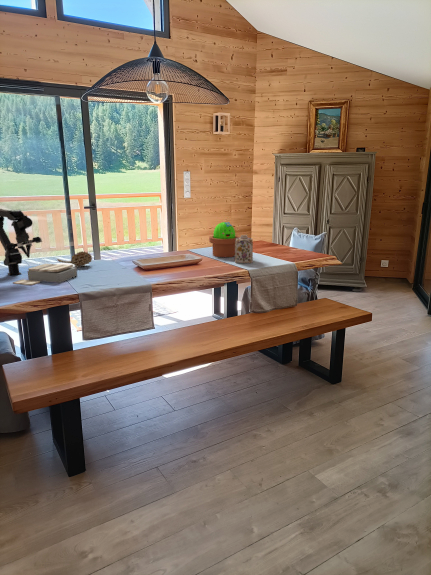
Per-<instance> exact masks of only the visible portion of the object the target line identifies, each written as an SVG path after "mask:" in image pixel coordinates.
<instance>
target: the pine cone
mask: <svg viewBox="0 0 431 575" xmlns="http://www.w3.org/2000/svg"><path fill="white" fill-rule="evenodd" d="M56 260H57V261H58V262H59V263H62V264H63V263H64V264H71V265H73V266H74V267H75V266H76V267H75V268H77V267H83V266H86V265H89V264H90V263H91V262H92V261H93V256H92V255H91V254H90V253H88V251H79V252H77V253H74V254H73V255H72V256H71V259H70V260H69V261H68V260H62V259H60V258H57V259H56Z"/></svg>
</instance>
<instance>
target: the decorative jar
mask: <svg viewBox="0 0 431 575" xmlns="http://www.w3.org/2000/svg"><path fill="white" fill-rule="evenodd" d="M239 237H240V238H236V240H235V256H234V262H235V264H253V262H254V261H253V258H254V257H253V256H254V255H253V254H254V247H253V246H254V242H253V238H252V237H249V236H248V235H247V234H243V235H241V234H240V236H239Z"/></svg>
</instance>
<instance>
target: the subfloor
mask: <svg viewBox="0 0 431 575" xmlns="http://www.w3.org/2000/svg"><path fill="white" fill-rule="evenodd" d="M51 265H54V263H43V264H39V265H36V266H35V265H34V266H32V267H30V268H28V269H27V278H28V279H27V280H34V281H41V282H48V283H62V282H66V281H68V280H71V279H73V278H75V276H76V277H78V270H77V267H75V266H73V267H71V268H68V269H65V270H62V271H59V272H39V269H42V268H45V267H48V266H51ZM72 277H73V278H72ZM70 278H71V279H70Z"/></svg>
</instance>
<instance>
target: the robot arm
mask: <svg viewBox="0 0 431 575" xmlns="http://www.w3.org/2000/svg"><path fill="white" fill-rule="evenodd" d="M5 218H7V220H9V221H11V227H13V230H14V233H15V240H16V243H14V242H11V240H10V239H9V237H8V236H9V235H7V232H6V231H5V229H4V224H5V223H4V221H5ZM32 225H33V220H32V219H31V218H30V217H28V215H26V214H24V212H23V211H22V210H21V209H11V210H9V209H4V208H0V243H1V246H2V247H3V249H4V251H5V252H4V259H3V265H4V266H7V268H8V272H7V273H6V274H7V275H9V276H11V277H13V276H17V275H19V276H20V275H22V273H21V272H20V269H19V264H23V263H22V262H23V256H22V254H21V251H22V252H23V253H24V254H25V256H26V258H28V259H29V258H30V254H31V248H32V246H33V244H34V243H35V244H38V243H42V242H43V241H42V237H40V236H36V237H35V236H34V237H32V239H30V234H29V233H28V232H27V231H26V230H28V229H29V228H31V227H32ZM29 239H30V240H29ZM20 250H21V251H20Z"/></svg>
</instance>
